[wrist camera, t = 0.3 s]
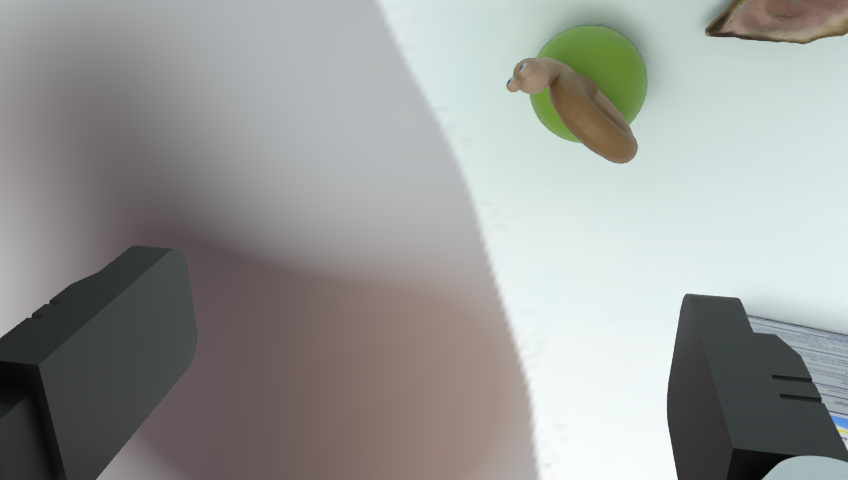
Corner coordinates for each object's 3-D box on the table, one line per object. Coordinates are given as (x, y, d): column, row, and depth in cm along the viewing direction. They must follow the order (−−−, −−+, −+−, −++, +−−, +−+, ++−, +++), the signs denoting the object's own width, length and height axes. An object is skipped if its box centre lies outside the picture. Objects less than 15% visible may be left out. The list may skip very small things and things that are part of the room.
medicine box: (695, 370, 44) (722, 472, 36) (719, 304, 42) (752, 396, 34) (836, 401, 43) (894, 512, 35) (867, 335, 41) (935, 437, 33)
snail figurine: (568, -20, 36) (565, 12, 26) (665, 66, 37) (703, 133, 26) (495, 67, 39) (465, 130, 28) (588, 146, 39) (594, 237, 29)
